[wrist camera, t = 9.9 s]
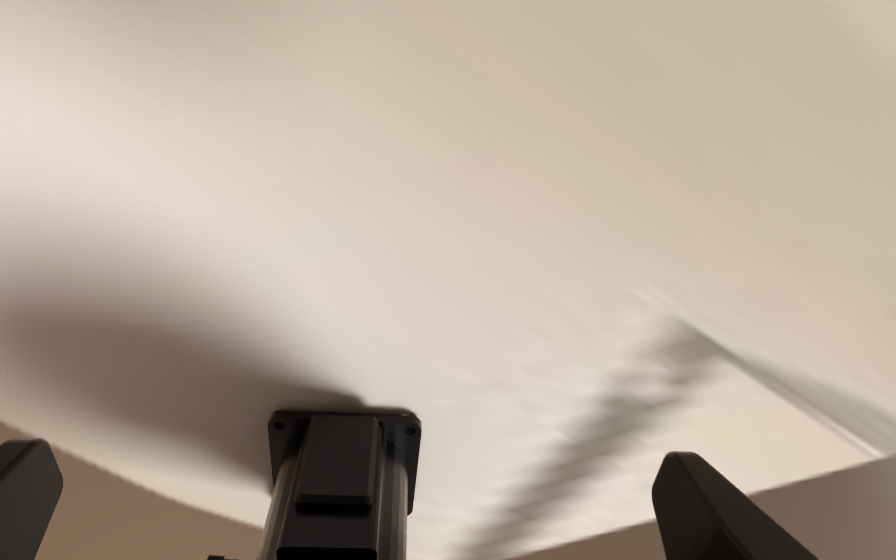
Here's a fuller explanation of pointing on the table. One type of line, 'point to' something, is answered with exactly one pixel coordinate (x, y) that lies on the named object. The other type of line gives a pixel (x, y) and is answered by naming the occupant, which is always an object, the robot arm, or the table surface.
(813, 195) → the table surface
